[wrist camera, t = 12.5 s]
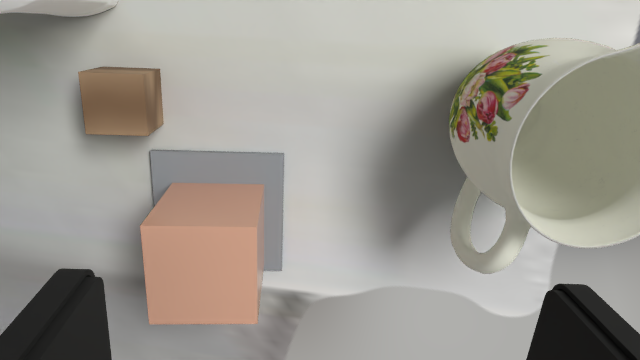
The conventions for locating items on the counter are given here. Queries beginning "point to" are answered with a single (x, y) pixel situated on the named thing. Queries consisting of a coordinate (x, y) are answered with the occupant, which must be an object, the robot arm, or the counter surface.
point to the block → (121, 100)
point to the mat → (229, 171)
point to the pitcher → (549, 146)
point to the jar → (57, 7)
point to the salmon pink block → (205, 254)
